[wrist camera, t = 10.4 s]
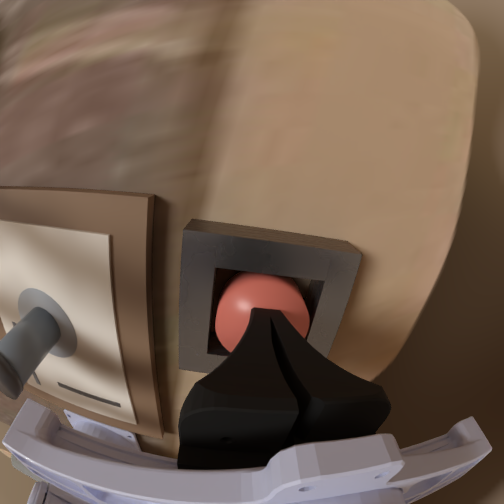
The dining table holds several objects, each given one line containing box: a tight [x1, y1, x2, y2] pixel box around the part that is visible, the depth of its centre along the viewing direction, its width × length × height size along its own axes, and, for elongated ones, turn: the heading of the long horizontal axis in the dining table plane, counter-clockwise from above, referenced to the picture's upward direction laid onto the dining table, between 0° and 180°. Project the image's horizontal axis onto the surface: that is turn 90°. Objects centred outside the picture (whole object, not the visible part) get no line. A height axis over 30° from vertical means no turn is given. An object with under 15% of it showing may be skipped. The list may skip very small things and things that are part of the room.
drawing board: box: [0, 186, 164, 439], centre depth 15 cm, size 20×16×1 cm
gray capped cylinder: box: [0, 307, 61, 400], centre depth 11 cm, size 3×3×6 cm
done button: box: [215, 271, 310, 352], centre depth 13 cm, size 4×4×2 cm
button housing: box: [179, 219, 362, 373], centre depth 14 cm, size 8×8×2 cm
